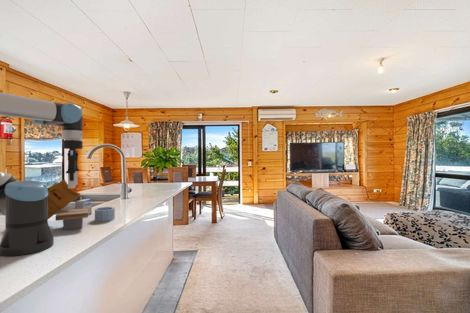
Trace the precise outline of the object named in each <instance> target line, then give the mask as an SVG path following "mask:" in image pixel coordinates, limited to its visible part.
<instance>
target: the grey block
mask: <svg viewBox="0 0 470 313" xmlns="http://www.w3.org/2000/svg"><path fill="white" fill-rule="evenodd" d="M62 221H63V222H62V223H63V225H62V226H63V227H62V228H63V231H67V229H68V230H75V229H77V230H78V229H83V223H84V218H77V219H67V220H62Z"/></svg>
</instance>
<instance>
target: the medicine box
mask: <svg viewBox="0 0 470 313" xmlns="http://www.w3.org/2000/svg"><path fill="white" fill-rule="evenodd" d="M92 204H93V203H92V198H83V199H80V200H75V201H74V207H75V209H84V208H89V214H88V216H90V215H92V213H93V212H92Z"/></svg>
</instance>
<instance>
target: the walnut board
mask: <svg viewBox="0 0 470 313" xmlns="http://www.w3.org/2000/svg"><path fill="white" fill-rule="evenodd" d="M88 214H89V208H84V209H73V208H72V209H61V210H60V211H58V212H57V213H56V214H55V221H63V220H67V219H77V218H83V219H87V218H89V215H88Z"/></svg>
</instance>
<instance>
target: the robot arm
mask: <svg viewBox="0 0 470 313" xmlns="http://www.w3.org/2000/svg"><path fill="white" fill-rule="evenodd" d="M0 116H2V117H3V116H4V117H13V118H19V119H20V118H21V119H29V120H30V121H31V122H32V123H33V124H36V125H41V126H44V125H46V126H55V127H57V126H59V127H62V140H63V141H62V148H63V149H65V150H68V151H67V170H66V171H65V173H66V174H67V184H68V189H69V188H70V189H76V186H78V185H79V182H78V180H79V179H78V178H79V177H78V172H80V168H79V167H78V166H79V165H78V160H79V153H78V150H82V149H83V147H84V146H83V136H84V135H85V133H83V109H82V107H81V106H78V105H76V104H75V103H69V102H67V103H60V102H54V101H48V100H44V99H40V98H39V99H38V98H35V97H34V98H33V97H28V96H22V95H17V94H11V93H6V92H1V91H0ZM47 188H48V185H47V184H46V183H45V182H43V181H38V180H17V179H16V178H15V177H14V176H13V175H12V174H11V173H9V172H8V173H7V172H6V173H5V172H2V171H1V170H0V215H4V216H5V217H4V218H5V223H4V224H5V230H4V232H3V234H2V237H1V240H0V256H3V257H4V256H5V257H16V256H23V255H24V256H25V255H30V254H34V253H39V252H43V251H45V250H47V249H49V248H51V247H52V246H54V244H55V243H54V240H55V238H54V235H53V233H52V231H51V228H50V226H49V223H48V222H49V219H48V190H47Z"/></svg>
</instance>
